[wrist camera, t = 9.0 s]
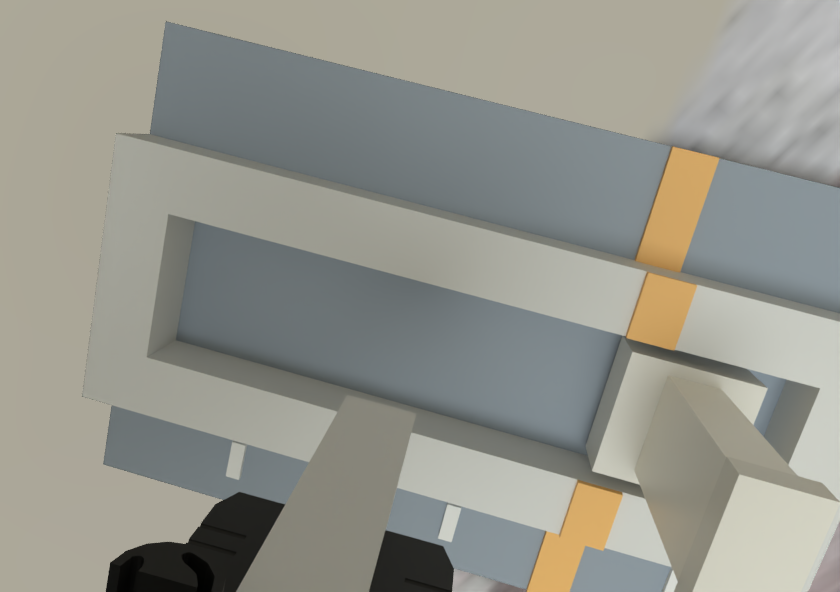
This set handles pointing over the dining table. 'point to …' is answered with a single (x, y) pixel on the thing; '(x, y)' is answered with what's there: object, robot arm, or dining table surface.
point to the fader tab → (708, 471)
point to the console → (441, 301)
